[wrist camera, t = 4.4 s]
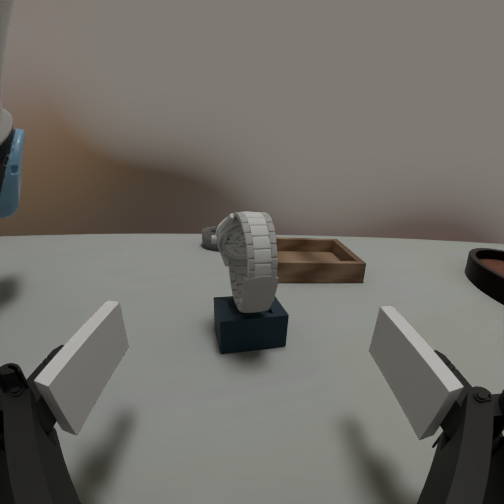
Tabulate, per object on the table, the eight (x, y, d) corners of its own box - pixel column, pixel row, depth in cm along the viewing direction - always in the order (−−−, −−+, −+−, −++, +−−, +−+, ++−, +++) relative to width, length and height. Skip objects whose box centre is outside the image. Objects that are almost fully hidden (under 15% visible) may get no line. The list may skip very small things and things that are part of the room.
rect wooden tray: (264, 282, 36) (264, 262, 35) (260, 252, 50) (261, 237, 49) (362, 282, 36) (366, 263, 36) (335, 253, 50) (336, 239, 49)
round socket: (195, 249, 50) (195, 233, 50) (210, 238, 59) (210, 224, 58) (243, 253, 49) (243, 236, 48) (251, 241, 57) (252, 226, 57)
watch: (265, 312, 28) (270, 205, 25) (292, 358, 21) (305, 221, 18) (211, 316, 27) (209, 206, 24) (223, 367, 20) (219, 222, 17)
